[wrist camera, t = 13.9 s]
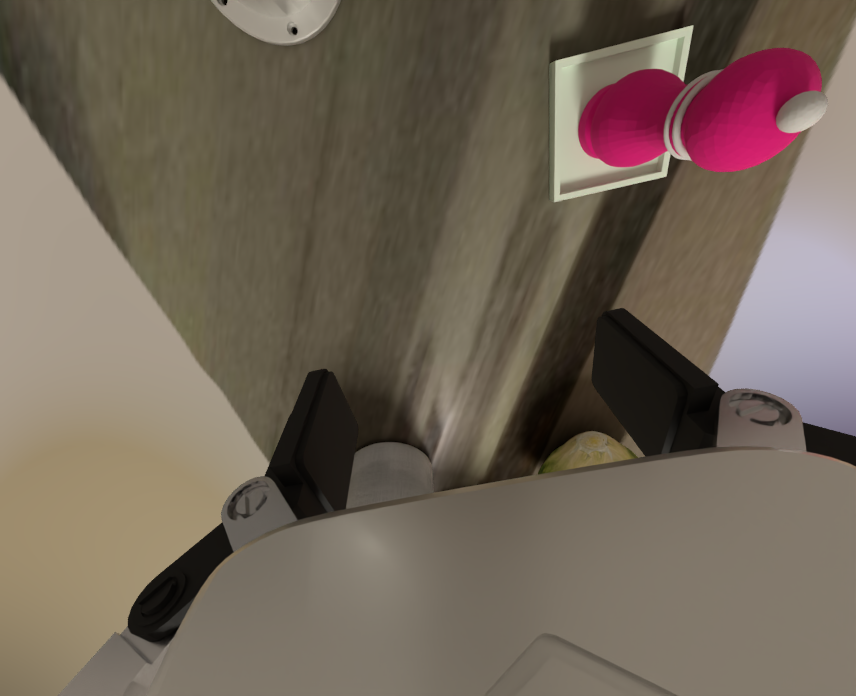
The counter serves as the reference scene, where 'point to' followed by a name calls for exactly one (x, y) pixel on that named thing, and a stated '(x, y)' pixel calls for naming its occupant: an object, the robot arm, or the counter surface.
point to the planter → (388, 474)
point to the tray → (575, 88)
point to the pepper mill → (706, 113)
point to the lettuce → (586, 452)
